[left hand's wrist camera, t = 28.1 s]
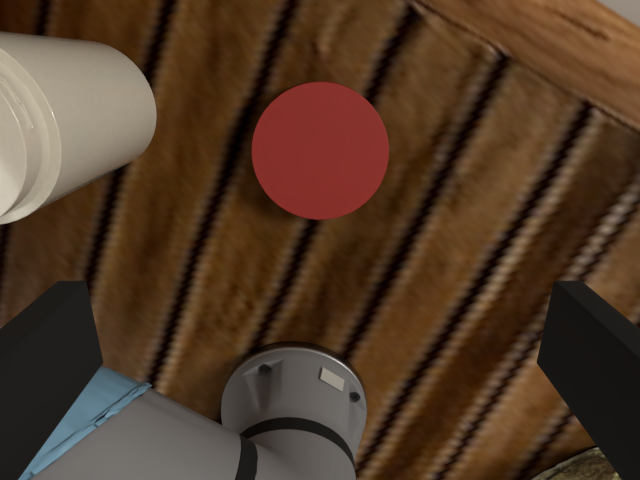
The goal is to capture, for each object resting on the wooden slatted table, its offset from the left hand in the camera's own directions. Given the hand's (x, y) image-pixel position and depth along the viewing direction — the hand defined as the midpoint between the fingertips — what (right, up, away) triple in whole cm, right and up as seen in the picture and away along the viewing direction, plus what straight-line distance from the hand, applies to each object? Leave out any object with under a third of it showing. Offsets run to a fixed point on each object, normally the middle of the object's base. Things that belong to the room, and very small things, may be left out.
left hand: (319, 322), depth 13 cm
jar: (-19, +13, +24) cm, 34 cm away
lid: (0, +9, +24) cm, 26 cm away
